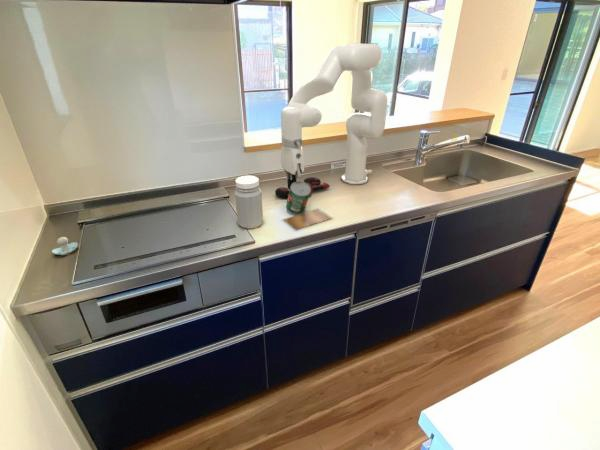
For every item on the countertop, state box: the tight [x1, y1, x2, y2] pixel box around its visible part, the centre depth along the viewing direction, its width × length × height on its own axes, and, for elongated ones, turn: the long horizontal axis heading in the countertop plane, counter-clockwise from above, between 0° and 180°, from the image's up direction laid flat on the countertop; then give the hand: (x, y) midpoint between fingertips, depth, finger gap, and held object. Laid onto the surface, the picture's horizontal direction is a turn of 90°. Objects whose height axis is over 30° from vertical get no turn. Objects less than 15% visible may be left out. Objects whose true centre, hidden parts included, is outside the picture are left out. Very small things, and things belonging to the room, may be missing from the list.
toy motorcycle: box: [274, 176, 330, 199], centre depth 154 cm, size 25×5×16 cm
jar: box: [234, 174, 264, 230], centre depth 127 cm, size 10×10×18 cm
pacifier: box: [51, 236, 79, 256], centre depth 113 cm, size 7×6×6 cm
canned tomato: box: [285, 180, 311, 216], centre depth 135 cm, size 8×8×11 cm
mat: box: [283, 208, 332, 231], centre depth 134 cm, size 16×9×1 cm, turn 123°
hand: (292, 188), depth 137 cm, fingers closed
